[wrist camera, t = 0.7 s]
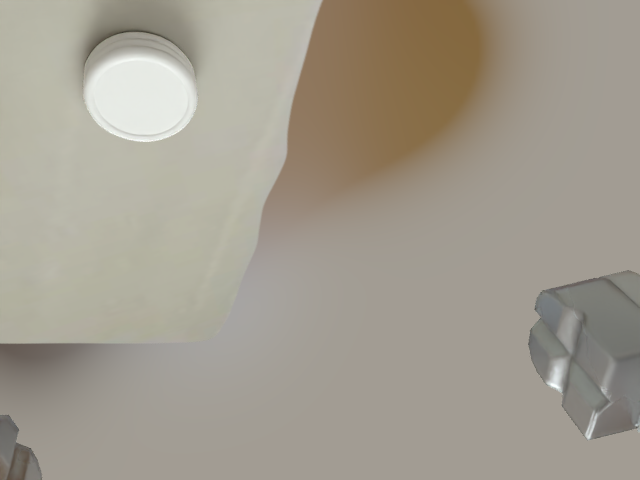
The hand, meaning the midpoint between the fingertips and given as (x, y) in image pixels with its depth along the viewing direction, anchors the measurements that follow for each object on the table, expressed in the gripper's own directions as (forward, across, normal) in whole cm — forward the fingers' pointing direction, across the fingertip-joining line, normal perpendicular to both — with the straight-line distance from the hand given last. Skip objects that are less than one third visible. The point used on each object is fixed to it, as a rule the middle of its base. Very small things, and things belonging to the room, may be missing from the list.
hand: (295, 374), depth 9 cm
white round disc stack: (+49, +6, +10) cm, 50 cm away
